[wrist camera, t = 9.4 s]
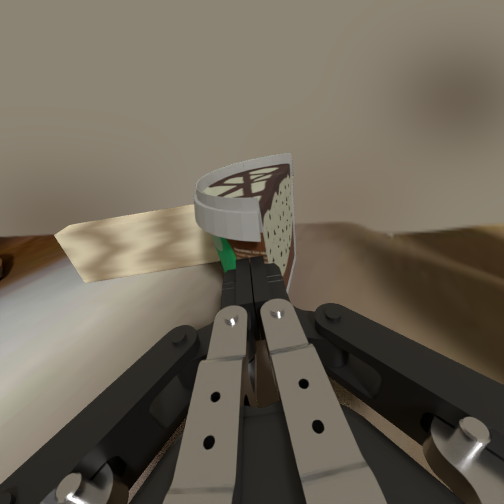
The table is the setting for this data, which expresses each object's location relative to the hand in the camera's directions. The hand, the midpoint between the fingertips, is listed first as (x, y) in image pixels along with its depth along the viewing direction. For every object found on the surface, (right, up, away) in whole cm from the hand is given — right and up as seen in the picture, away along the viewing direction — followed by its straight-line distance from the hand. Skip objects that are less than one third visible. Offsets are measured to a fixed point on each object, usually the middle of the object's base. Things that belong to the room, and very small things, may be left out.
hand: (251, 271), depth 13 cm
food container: (0, -2, +9) cm, 9 cm away
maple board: (-8, 0, +14) cm, 16 cm away
